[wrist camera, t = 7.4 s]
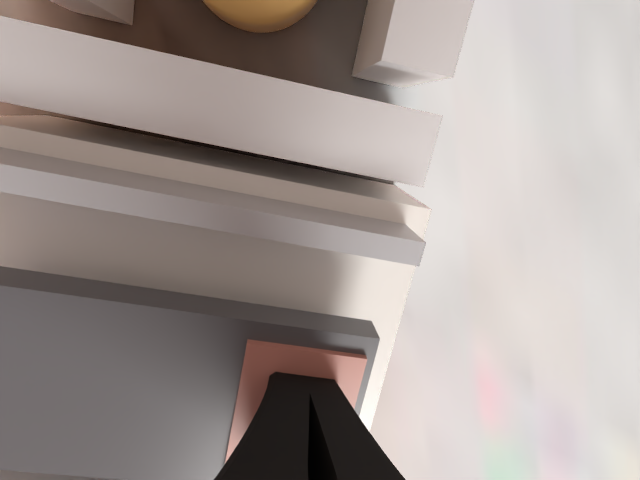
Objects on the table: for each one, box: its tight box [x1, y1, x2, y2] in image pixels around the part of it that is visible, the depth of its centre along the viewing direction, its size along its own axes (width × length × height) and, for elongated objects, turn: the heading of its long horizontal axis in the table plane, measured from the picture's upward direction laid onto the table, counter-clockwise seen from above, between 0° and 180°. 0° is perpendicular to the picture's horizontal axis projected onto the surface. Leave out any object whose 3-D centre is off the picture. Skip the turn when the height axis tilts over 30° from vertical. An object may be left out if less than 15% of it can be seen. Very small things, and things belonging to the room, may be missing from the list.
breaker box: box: [0, 115, 432, 480], centre depth 12 cm, size 10×9×5 cm
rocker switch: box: [0, 266, 380, 480], centre depth 9 cm, size 8×4×1 cm, turn 78°
